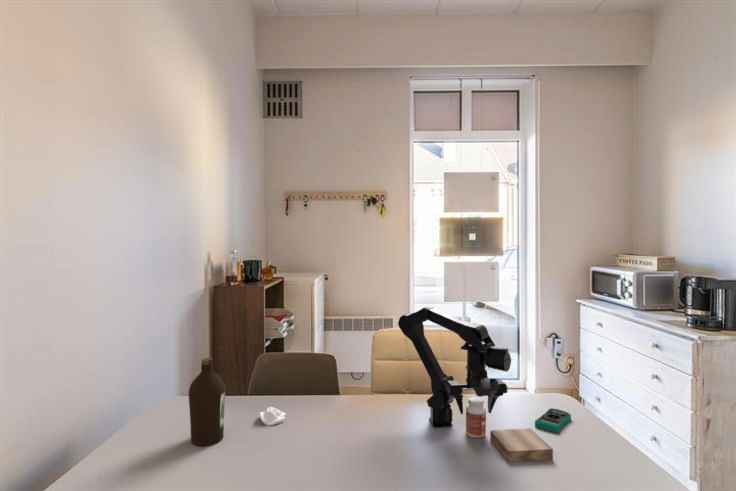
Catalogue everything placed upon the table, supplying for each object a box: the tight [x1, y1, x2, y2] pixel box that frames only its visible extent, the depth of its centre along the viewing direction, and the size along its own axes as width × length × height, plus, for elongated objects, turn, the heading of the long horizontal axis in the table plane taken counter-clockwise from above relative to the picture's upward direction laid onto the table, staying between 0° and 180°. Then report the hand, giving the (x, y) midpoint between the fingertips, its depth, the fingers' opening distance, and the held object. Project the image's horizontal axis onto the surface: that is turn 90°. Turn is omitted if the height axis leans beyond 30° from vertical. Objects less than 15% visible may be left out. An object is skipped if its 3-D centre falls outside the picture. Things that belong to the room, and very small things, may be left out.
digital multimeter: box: [534, 408, 572, 434], centre depth 144 cm, size 7×15×3 cm, turn 138°
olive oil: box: [188, 357, 226, 447], centre depth 132 cm, size 11×11×25 cm
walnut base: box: [489, 428, 554, 463], centre depth 126 cm, size 13×13×3 cm
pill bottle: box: [465, 396, 487, 438], centre depth 136 cm, size 6×6×11 cm
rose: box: [259, 406, 286, 427], centre depth 147 cm, size 10×4×10 cm
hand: (475, 413), depth 136 cm, fingers open, 9 cm apart
